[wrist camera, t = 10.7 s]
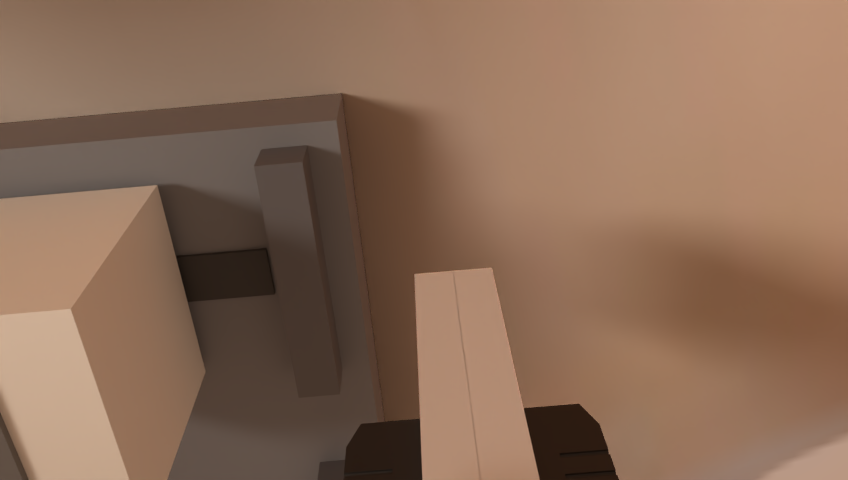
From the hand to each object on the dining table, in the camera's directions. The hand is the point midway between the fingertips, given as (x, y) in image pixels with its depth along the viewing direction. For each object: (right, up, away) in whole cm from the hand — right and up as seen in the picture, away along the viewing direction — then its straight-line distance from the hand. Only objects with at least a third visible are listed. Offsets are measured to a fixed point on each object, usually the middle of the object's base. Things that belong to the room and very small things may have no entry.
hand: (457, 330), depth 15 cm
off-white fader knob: (-8, +1, +2) cm, 9 cm away
